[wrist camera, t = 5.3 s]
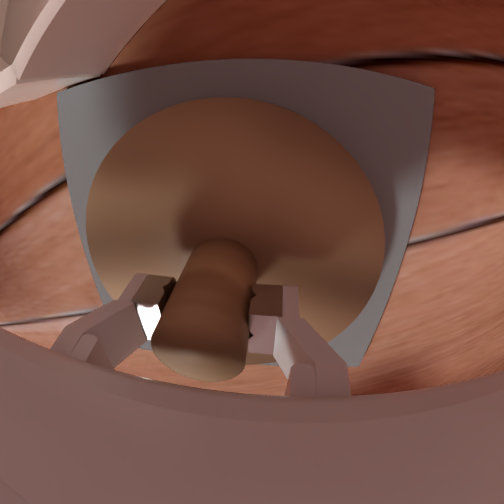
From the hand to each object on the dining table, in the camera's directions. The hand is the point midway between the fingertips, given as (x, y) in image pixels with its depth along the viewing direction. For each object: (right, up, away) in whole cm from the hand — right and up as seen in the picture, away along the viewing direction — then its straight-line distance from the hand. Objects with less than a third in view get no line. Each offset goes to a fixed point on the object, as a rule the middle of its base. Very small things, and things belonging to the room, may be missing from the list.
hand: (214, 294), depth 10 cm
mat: (0, +2, +3) cm, 3 cm away
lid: (0, +1, +2) cm, 3 cm away
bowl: (-7, +14, -4) cm, 16 cm away
